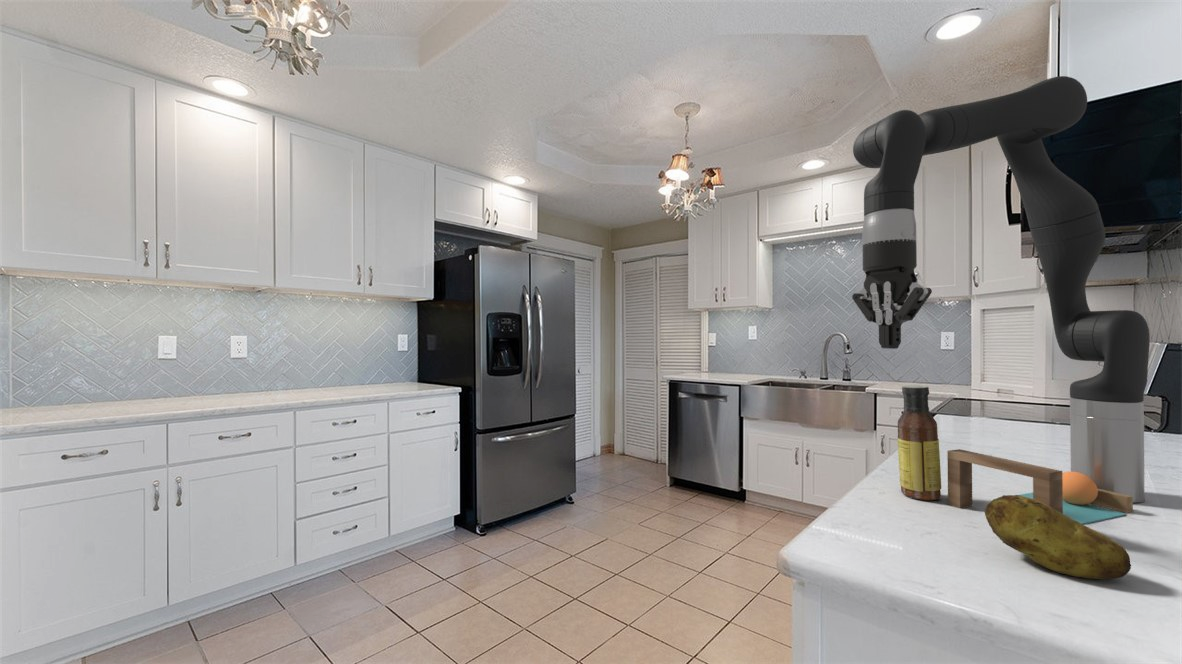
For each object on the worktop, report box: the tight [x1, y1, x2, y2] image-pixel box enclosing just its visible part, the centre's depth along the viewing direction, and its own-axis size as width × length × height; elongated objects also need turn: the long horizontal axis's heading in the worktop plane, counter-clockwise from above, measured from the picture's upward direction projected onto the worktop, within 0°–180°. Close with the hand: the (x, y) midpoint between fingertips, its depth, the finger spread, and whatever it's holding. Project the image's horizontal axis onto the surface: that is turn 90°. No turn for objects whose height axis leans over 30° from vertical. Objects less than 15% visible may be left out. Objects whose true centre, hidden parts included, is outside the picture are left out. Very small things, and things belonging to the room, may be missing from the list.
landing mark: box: [992, 492, 1127, 525], centre depth 83 cm, size 12×12×1 cm
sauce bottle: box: [897, 384, 942, 501], centre depth 89 cm, size 6×6×20 cm
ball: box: [1062, 470, 1098, 505], centre depth 84 cm, size 6×6×6 cm
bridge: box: [946, 448, 1063, 514], centre depth 78 cm, size 3×14×9 cm, turn 19°
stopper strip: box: [1089, 489, 1134, 514], centre depth 86 cm, size 2×11×2 cm, turn 19°
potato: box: [984, 494, 1132, 580], centre depth 62 cm, size 8×13×8 cm, turn 27°
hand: (889, 348), depth 80 cm, fingers closed
